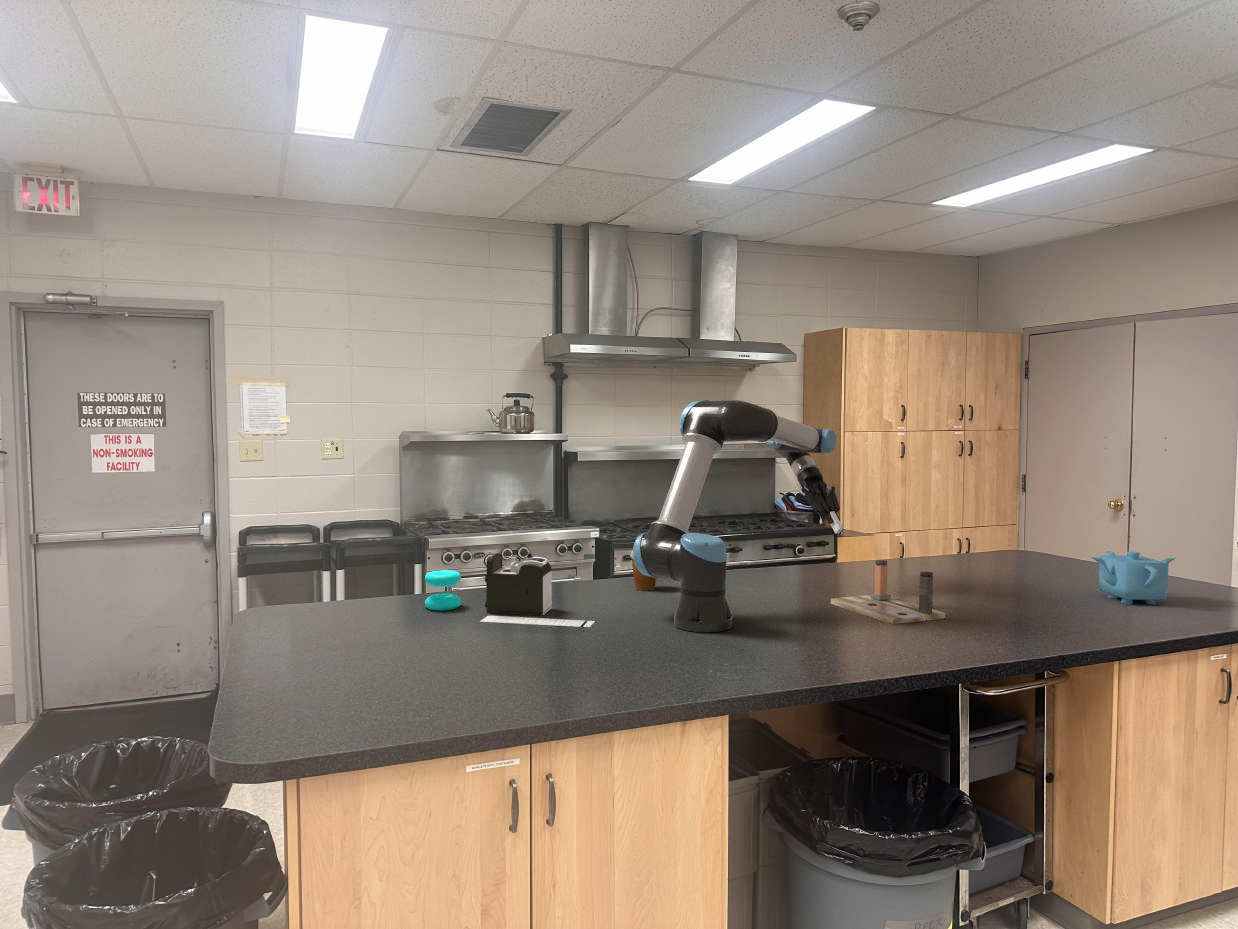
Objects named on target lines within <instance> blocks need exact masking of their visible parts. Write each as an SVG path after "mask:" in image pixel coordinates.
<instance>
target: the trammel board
mask: <svg viewBox="0 0 1238 929" xmlns="http://www.w3.org/2000/svg"><path fill="white" fill-rule="evenodd" d="M918 589H919V592H918V593H919V594H918V595H919V596H918V598H919V599H918V604H915V603H912V602H910V601H905V600H902V599H898V598H895V597H892V596H891V599H888V600H877V599H874V598H870V594H868V595H867V594H865V595H855V596H845V597H843V596H842V597H836V598H835V597H834V598H833V597H832V598H830V605H833V606H836V607H840V608H843V609H845V610H848V611H851V612H854V613H857V614H860V615H863V616H866V617H869V618H872V617H873V618H872V619H875V620H879V621H881V620H882V621H881V622H884V621H885V622H884V623H887V624H890V623H891V624H890V625H899V623H900V624H907V623H916V622H917V623H918V622H926V620H927V621H934V620H935V621H936V620H943V619H944V618H945V619H946V612H943V611H939V610H936V609H933V606H934V605H933V603H934V602H933V600H934V599H933V598H934V596H933V595H934V572H932V571H920V573H919V588H918ZM864 601H874V602H877V603H880V604H883V605H887V606H890V607H893V608H896V609H900V610H903V611H906V612H909V613H913V614H916V615H919V616H922V618H916V619H907V620H903V619H900V618H897V617H893V616H890V615H887V614H884V613H881V612H878V611H875V610H872V609H869V608H865V607H862V606H859V605H856V604H854V602H864Z"/></svg>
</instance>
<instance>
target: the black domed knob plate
mask: <svg viewBox="0 0 1238 929" xmlns="http://www.w3.org/2000/svg"><path fill="white" fill-rule="evenodd" d="M854 604H856V605H859V606H862V607H865V608H869V609H872V610H875V611H878V612H881V613H884V614H887V615H890V616H893V617H897V618H900V619H903V620H907V619H916V618H922V616H919V615H916V614H913V613H909V612H906V611H903V610H900V609H896V608H893V607H890V606H887V605H883V604H880V603H877V602H874V601H864V602H854Z"/></svg>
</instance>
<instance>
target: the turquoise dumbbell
mask: <svg viewBox="0 0 1238 929" xmlns="http://www.w3.org/2000/svg"><path fill="white" fill-rule="evenodd" d="M424 576H425V577H424V581H425V583H427V585H429V586H431V587H435V588H436V587H437V588H446V587H452V586H455V585H458V584H459V582H460V581H461V579H462V576H461V573H460V572H458V571H456V570H450V569H449V570H447V569H444V570H443V569H442V570H434V571H430V572H427V573H426V575H424ZM424 604H425V607H426V608H427V609H428V610H432V611H451V610H455V609H457V608H459V607H460V606H461V604H462V600H461V597H460V596H459V595H457V594H454V593H451V592H448V593H447V592H440V593H434V594H431V595H429V596H428V597H427V598H426V599H425V600H424Z"/></svg>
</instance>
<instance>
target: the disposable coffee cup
mask: <svg viewBox="0 0 1238 929" xmlns="http://www.w3.org/2000/svg"><path fill="white" fill-rule="evenodd" d="M629 557H630V558H631V564H632V573H633V574H632V575H633V582H634V589H635V588H636V589H639V590H638V591H641V590H650V591H654V590H655V589H656V583H657V582H656V581H657V578H652V577H650V576H646V575H643V574H642V573H641V572H640V571H639V570H638V569H637V567H636V565H635V561H634V559H633V549H632V550H631V553H630V554H629ZM636 589H635V590H636Z"/></svg>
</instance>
